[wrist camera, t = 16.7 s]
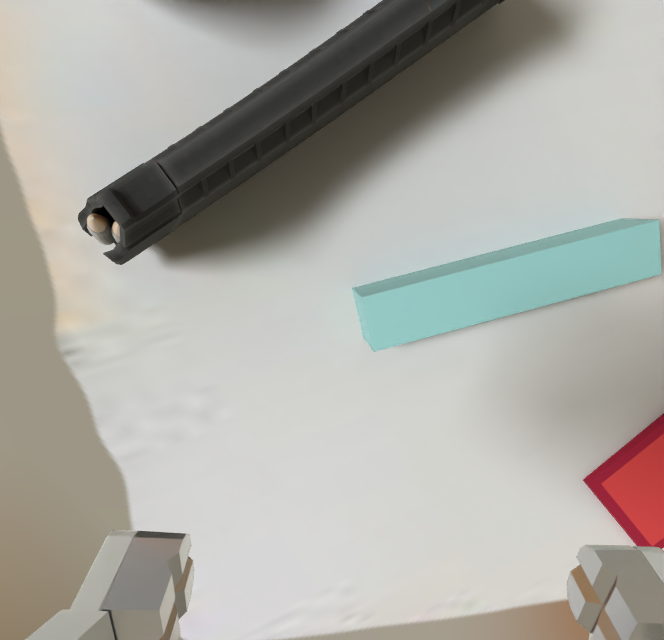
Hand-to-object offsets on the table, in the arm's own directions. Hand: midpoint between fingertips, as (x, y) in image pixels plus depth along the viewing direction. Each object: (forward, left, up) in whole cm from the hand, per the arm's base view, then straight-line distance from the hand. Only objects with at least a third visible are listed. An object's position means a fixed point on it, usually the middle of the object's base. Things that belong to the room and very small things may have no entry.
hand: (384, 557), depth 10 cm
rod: (+1, +15, -26) cm, 30 cm away
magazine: (-13, +3, -26) cm, 29 cm away
